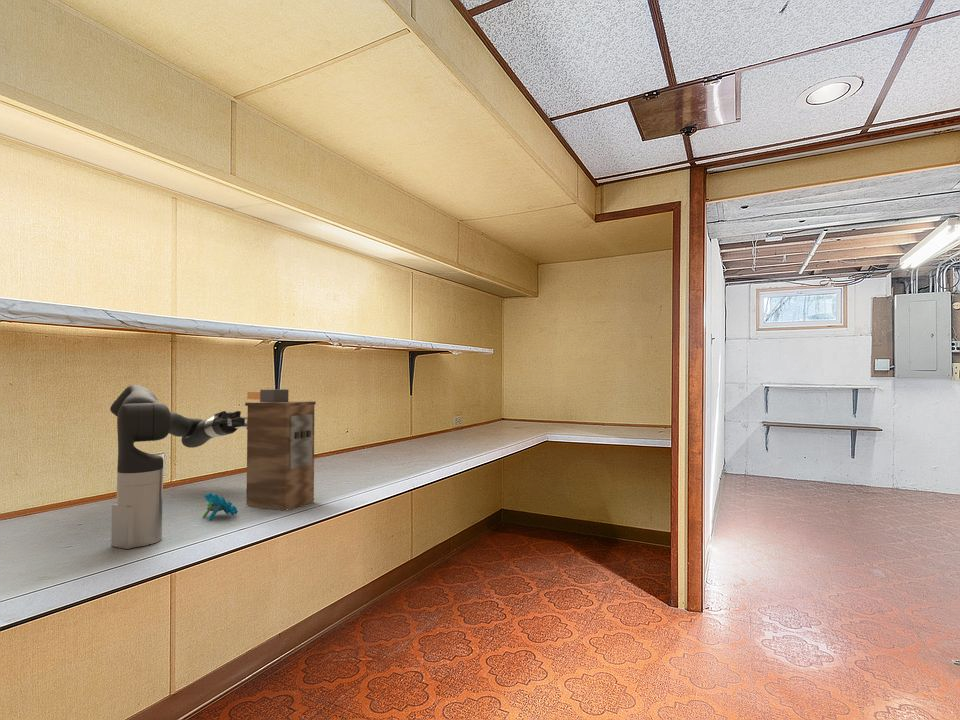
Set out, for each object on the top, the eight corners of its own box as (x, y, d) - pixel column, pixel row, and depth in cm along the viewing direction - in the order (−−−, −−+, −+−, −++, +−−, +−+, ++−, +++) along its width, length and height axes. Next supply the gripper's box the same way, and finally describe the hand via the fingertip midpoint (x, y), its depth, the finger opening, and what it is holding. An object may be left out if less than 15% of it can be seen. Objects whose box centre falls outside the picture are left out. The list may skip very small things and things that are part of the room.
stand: (287, 511, 147) (288, 403, 149) (243, 505, 155) (245, 402, 156) (318, 501, 159) (318, 401, 161) (276, 497, 166) (277, 401, 168)
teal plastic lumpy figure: (245, 510, 142) (219, 490, 137) (232, 529, 138) (204, 509, 133) (225, 510, 148) (200, 491, 144) (212, 528, 144) (185, 509, 140)
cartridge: (273, 402, 154) (273, 389, 155) (244, 401, 165) (244, 389, 165) (288, 402, 158) (288, 389, 159) (258, 401, 169) (258, 389, 169)
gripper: (238, 439, 180) (267, 431, 172) (199, 431, 168) (229, 423, 161) (241, 419, 182) (270, 411, 175) (203, 410, 171) (233, 401, 164)
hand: (250, 416), depth 168 cm, fingers open, 8 cm apart
